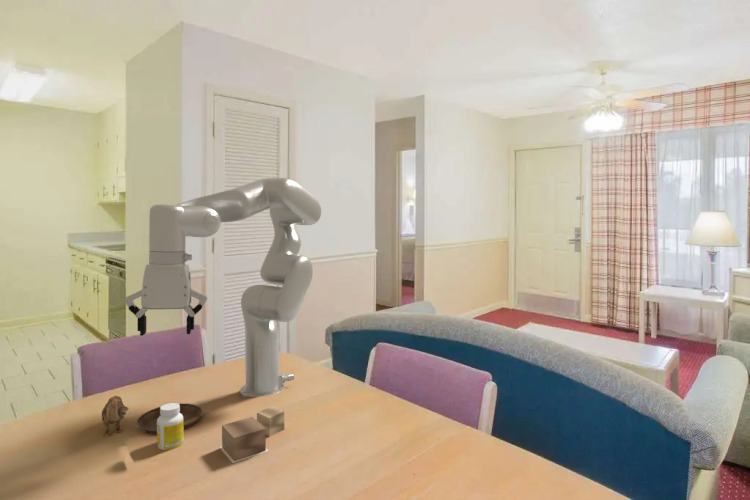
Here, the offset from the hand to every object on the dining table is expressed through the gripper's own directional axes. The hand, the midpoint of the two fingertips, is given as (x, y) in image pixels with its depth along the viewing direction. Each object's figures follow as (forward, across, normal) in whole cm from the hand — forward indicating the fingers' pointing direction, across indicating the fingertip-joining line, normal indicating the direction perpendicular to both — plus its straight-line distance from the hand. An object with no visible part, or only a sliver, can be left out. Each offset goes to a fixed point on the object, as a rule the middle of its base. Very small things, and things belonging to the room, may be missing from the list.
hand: (166, 333), depth 105 cm
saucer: (+25, 0, -8) cm, 26 cm away
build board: (+25, -19, +11) cm, 33 cm away
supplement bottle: (+25, -2, +5) cm, 26 cm away
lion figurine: (+25, +12, -9) cm, 30 cm away
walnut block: (+23, -18, +12) cm, 31 cm away
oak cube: (+23, -24, +4) cm, 33 cm away
